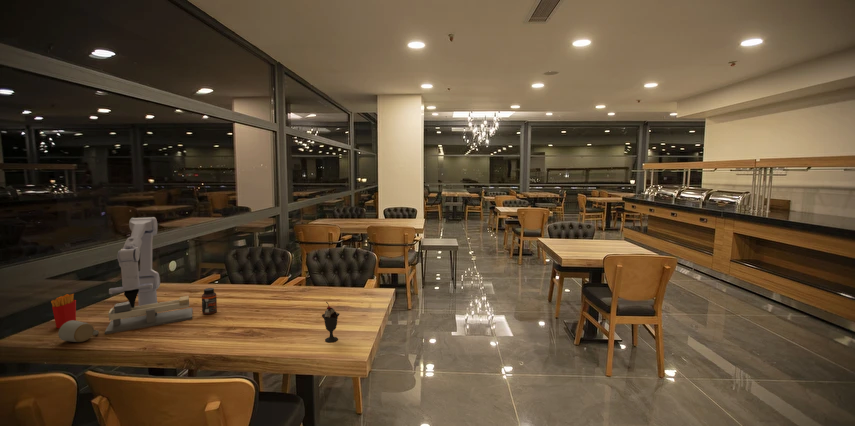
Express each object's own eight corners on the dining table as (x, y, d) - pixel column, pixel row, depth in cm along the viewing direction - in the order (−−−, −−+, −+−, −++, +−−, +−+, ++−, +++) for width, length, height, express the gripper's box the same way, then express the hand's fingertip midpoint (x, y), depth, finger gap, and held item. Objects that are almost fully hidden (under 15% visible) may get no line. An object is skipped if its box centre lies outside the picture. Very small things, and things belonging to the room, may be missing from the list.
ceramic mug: (75, 345, 140) (74, 326, 139) (58, 344, 142) (56, 324, 141) (104, 334, 151) (103, 316, 150) (88, 333, 152) (87, 314, 151)
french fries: (70, 321, 164) (67, 292, 163) (80, 320, 164) (77, 292, 163) (50, 329, 155) (47, 299, 154) (61, 329, 155) (58, 299, 154)
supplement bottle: (209, 315, 170) (208, 291, 169) (199, 314, 172) (198, 290, 171) (220, 311, 176) (219, 287, 175) (209, 309, 178) (208, 286, 177)
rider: (116, 312, 159) (115, 303, 159) (131, 310, 162) (130, 301, 161) (115, 316, 155) (113, 306, 155) (130, 313, 158) (129, 304, 158)
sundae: (324, 336, 148) (323, 299, 147) (341, 335, 149) (340, 299, 147) (320, 343, 142) (319, 305, 140) (338, 343, 142) (337, 305, 141)
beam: (112, 316, 159) (111, 307, 159) (189, 304, 174) (188, 295, 174) (109, 322, 153) (108, 312, 153) (189, 308, 168) (188, 299, 168)
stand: (111, 322, 162) (110, 308, 162) (192, 309, 178) (191, 296, 177) (104, 334, 150) (103, 318, 150) (192, 319, 166) (191, 305, 166)
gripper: (106, 281, 152) (109, 313, 153) (150, 275, 159) (153, 306, 161) (109, 277, 157) (112, 308, 159) (152, 272, 165) (154, 302, 166)
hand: (133, 307), depth 160 cm, fingers closed
